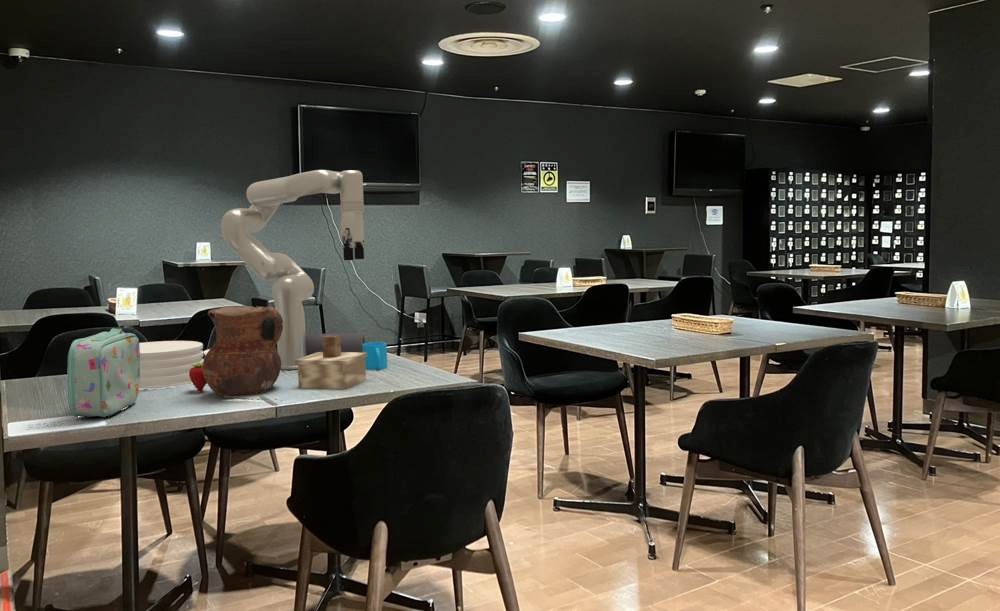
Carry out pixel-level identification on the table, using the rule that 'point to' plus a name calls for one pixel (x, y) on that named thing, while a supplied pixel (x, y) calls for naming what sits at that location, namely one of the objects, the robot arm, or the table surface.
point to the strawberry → (197, 376)
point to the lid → (331, 354)
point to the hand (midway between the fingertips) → (354, 259)
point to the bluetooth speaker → (348, 340)
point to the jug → (243, 351)
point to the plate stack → (168, 362)
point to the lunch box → (103, 373)
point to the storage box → (331, 375)
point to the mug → (375, 355)
